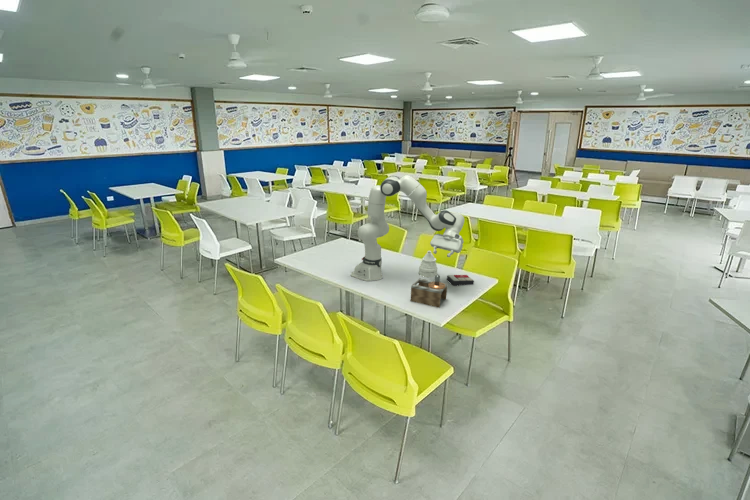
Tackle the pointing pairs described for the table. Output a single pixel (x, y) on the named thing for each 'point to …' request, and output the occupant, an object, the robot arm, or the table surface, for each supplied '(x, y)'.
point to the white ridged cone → (428, 266)
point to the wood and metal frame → (427, 293)
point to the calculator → (460, 280)
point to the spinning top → (437, 284)
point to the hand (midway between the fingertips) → (441, 254)
